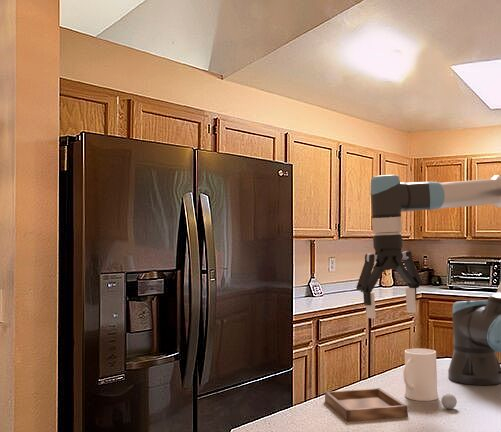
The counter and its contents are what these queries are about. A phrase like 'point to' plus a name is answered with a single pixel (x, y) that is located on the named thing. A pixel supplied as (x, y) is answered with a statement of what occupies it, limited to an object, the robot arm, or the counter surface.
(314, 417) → the counter surface
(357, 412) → the tray
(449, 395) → the ball
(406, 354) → the mug
